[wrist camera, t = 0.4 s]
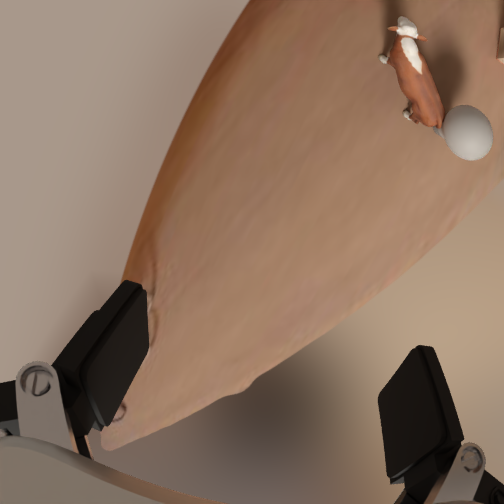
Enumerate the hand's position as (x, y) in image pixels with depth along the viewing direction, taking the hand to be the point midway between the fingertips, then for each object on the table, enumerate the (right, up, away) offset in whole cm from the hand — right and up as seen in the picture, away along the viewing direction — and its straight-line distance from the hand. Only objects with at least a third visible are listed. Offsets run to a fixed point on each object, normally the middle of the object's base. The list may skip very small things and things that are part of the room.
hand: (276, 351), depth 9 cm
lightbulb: (+23, +20, +21) cm, 37 cm away
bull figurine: (+17, +25, +19) cm, 36 cm away
